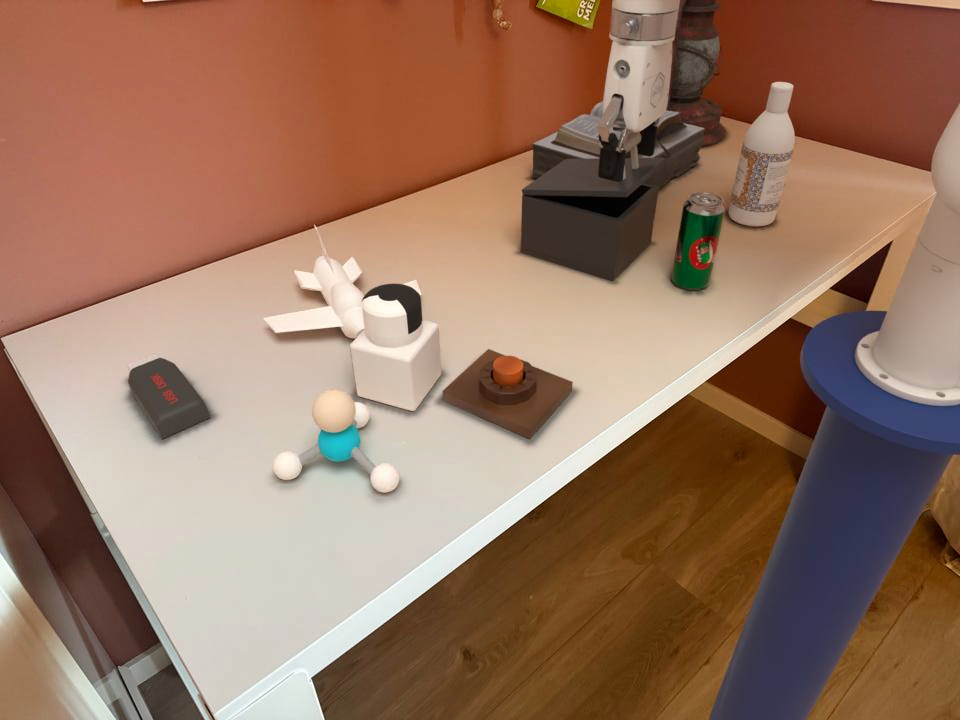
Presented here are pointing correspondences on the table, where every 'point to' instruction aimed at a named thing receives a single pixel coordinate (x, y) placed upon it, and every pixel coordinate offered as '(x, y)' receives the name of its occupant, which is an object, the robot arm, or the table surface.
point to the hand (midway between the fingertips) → (626, 166)
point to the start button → (508, 371)
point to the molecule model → (338, 440)
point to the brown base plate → (508, 395)
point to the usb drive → (165, 395)
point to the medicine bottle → (395, 348)
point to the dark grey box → (589, 229)
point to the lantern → (696, 68)
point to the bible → (583, 138)
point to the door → (596, 176)
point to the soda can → (697, 240)
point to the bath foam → (764, 161)
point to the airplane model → (329, 298)
